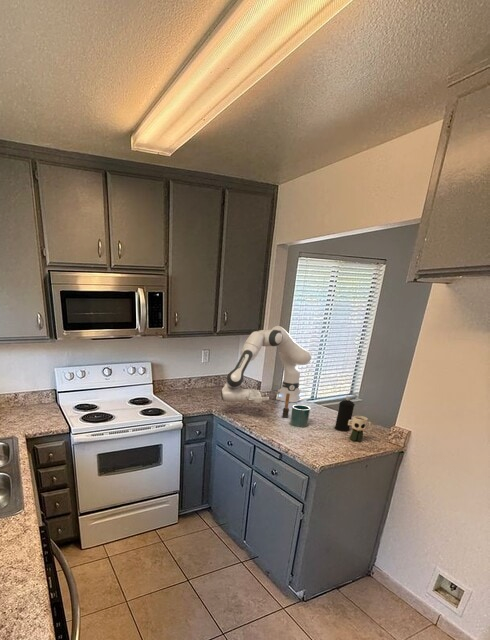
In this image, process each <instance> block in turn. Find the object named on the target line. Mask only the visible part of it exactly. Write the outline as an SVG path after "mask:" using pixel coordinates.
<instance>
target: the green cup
mask: <svg viewBox="0 0 490 640" xmlns="http://www.w3.org/2000/svg"><path fill="white" fill-rule="evenodd" d="M291 407H292V408H291V412H290V413H291V414H290V420H289V421H290V422H289V424H290V426H293V427H296V428H306V427H308V425H309V418H310V414H311V413H310V412H311V407H310V406H307V405H303V404H294V405H292V406H291Z"/></svg>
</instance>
